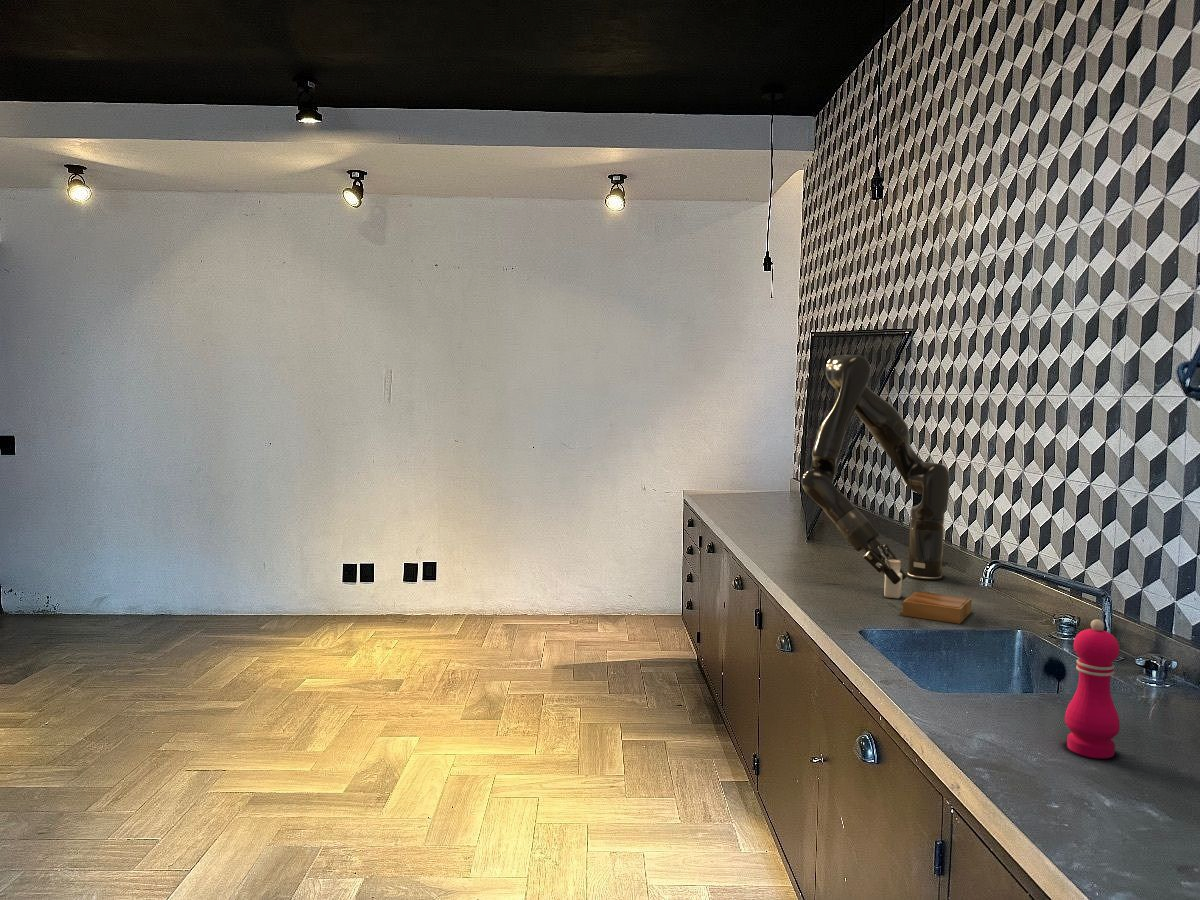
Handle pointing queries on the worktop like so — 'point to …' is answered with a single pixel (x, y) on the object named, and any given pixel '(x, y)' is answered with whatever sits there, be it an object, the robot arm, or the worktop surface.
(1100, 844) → the worktop surface
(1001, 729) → the worktop surface
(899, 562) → the pepper shaker
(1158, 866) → the worktop surface
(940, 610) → the riser
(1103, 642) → the pepper mill
